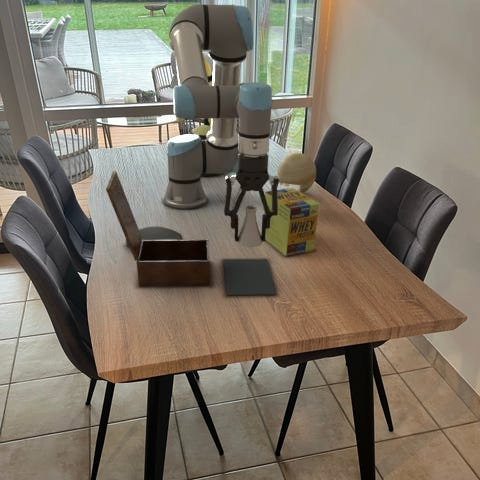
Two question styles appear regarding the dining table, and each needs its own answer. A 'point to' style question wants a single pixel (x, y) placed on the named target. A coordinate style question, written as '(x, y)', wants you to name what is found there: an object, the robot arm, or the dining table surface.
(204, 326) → the dining table surface
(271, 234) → the protein box
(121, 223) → the lid
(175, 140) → the robot arm
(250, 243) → the flask
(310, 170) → the beige round ball
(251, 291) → the place mat
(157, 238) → the dark grey disc
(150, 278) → the open wooden box
